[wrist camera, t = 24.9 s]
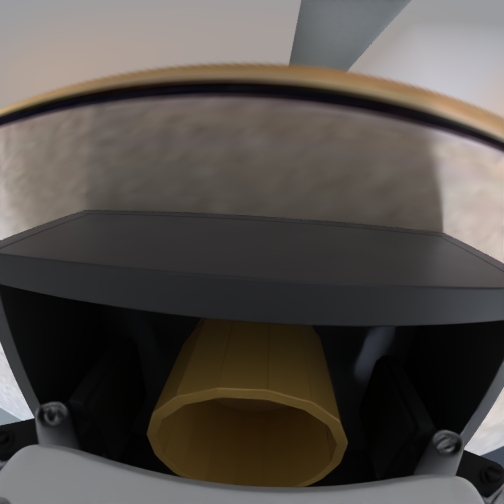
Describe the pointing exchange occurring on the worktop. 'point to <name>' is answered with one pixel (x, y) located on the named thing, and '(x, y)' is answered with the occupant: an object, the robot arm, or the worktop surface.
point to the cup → (250, 406)
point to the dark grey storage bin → (255, 308)
